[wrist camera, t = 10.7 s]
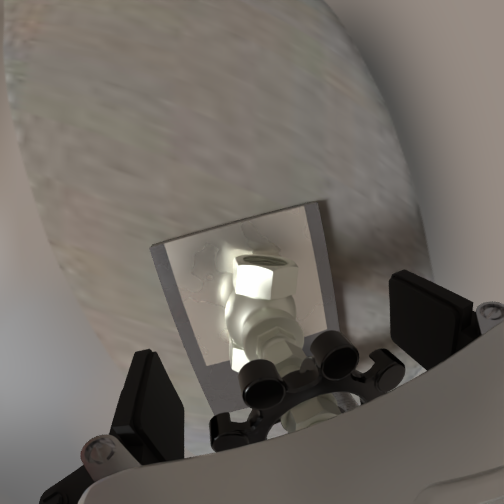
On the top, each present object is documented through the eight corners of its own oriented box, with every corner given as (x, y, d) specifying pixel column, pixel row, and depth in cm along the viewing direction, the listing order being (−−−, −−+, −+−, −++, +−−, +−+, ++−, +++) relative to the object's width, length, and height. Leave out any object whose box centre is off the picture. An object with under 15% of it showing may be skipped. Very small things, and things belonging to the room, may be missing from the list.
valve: (308, 254, 19) (435, 332, 7) (296, 345, 20) (376, 470, 8) (205, 250, 18) (210, 351, 6) (203, 346, 19) (212, 498, 7)
